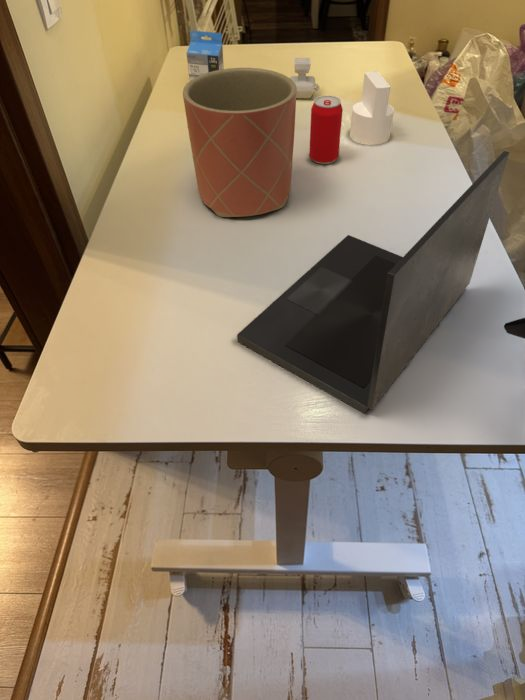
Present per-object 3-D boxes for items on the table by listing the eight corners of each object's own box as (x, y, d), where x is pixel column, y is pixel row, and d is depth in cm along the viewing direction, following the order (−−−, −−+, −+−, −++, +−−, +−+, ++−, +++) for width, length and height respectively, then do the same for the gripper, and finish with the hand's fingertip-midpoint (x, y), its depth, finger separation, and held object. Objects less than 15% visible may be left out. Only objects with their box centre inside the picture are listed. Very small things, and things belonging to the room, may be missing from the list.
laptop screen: (386, 272, 49) (394, 275, 49) (503, 150, 65) (509, 152, 65) (366, 406, 64) (371, 409, 64) (464, 281, 80) (469, 283, 80)
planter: (189, 178, 106) (175, 74, 91) (278, 165, 109) (279, 62, 94) (205, 230, 93) (192, 119, 79) (306, 213, 96) (311, 103, 82)
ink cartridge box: (189, 86, 138) (183, 35, 129) (194, 81, 141) (189, 30, 132) (220, 90, 136) (216, 37, 127) (225, 84, 139) (222, 32, 130)
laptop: (237, 341, 75) (236, 334, 73) (347, 241, 90) (348, 234, 89) (364, 413, 66) (366, 406, 64) (461, 289, 81) (464, 281, 80)
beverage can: (338, 152, 112) (343, 94, 103) (338, 166, 108) (343, 107, 99) (309, 151, 113) (312, 94, 104) (308, 165, 109) (311, 107, 100)
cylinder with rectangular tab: (395, 143, 115) (405, 86, 106) (355, 146, 114) (362, 89, 105) (382, 125, 121) (391, 70, 112) (345, 128, 120) (350, 73, 111)
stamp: (283, 101, 131) (283, 65, 125) (284, 90, 135) (285, 55, 129) (318, 101, 130) (320, 65, 124) (319, 91, 135) (321, 55, 128)
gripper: (682, 150, 49) (516, 204, 61) (649, 250, 39) (458, 291, 51) (712, 249, 52) (550, 282, 64) (690, 365, 42) (502, 378, 54)
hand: (518, 304), depth 58 cm, fingers open, 9 cm apart
